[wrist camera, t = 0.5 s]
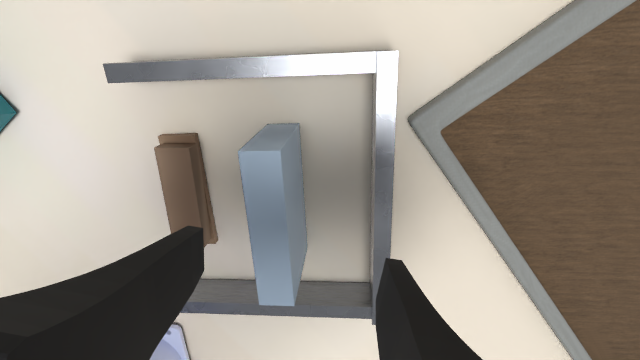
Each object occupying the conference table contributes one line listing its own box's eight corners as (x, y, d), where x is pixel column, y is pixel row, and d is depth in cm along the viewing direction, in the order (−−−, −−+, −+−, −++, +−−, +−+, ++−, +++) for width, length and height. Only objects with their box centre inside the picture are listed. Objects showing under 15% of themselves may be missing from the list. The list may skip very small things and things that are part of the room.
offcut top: (181, 237, 24) (173, 246, 23) (164, 142, 21) (154, 147, 20) (211, 238, 24) (204, 247, 23) (197, 143, 21) (188, 148, 20)
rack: (185, 289, 26) (165, 317, 24) (131, 61, 20) (96, 64, 17) (383, 293, 25) (387, 324, 22) (391, 50, 19) (398, 50, 16)
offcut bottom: (190, 235, 25) (183, 243, 24) (167, 131, 22) (157, 136, 21) (221, 234, 25) (215, 243, 24) (201, 130, 22) (193, 135, 21)
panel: (280, 246, 24) (259, 305, 19) (267, 123, 21) (237, 151, 15) (307, 246, 24) (294, 306, 18) (299, 122, 21) (280, 150, 15)
